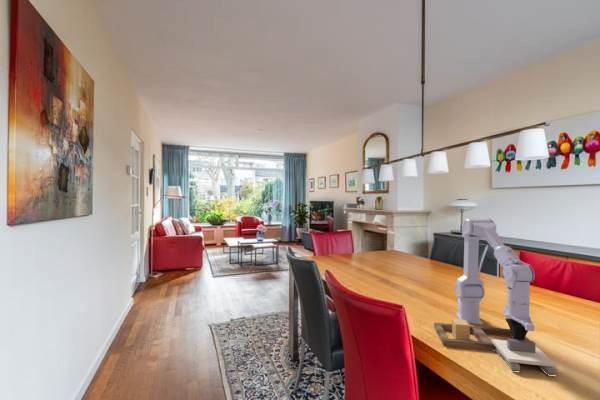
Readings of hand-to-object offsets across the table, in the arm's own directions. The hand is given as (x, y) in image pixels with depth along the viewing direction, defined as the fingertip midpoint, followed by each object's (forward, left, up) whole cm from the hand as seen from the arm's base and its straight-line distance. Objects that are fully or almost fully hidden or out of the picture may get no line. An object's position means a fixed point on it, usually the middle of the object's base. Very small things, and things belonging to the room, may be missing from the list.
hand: (518, 343), depth 93 cm
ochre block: (-10, -14, -5) cm, 18 cm away
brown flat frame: (-4, -7, -5) cm, 9 cm away
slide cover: (+2, 0, -2) cm, 3 cm away
